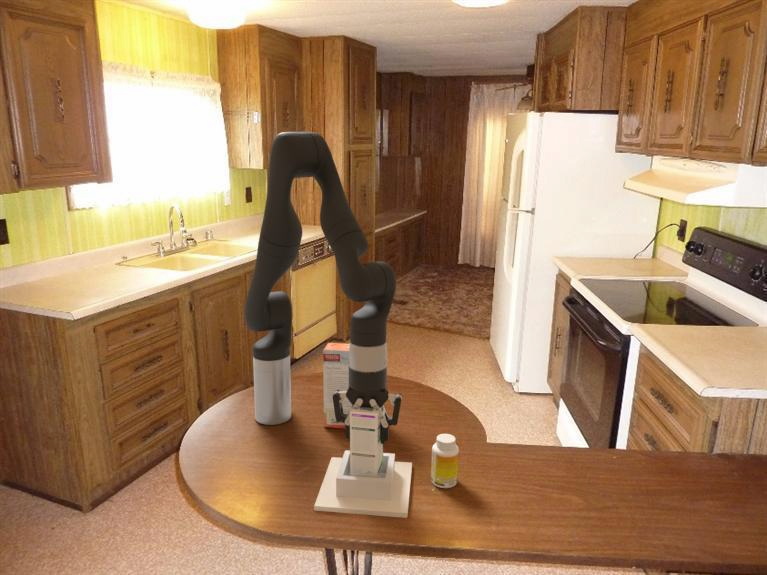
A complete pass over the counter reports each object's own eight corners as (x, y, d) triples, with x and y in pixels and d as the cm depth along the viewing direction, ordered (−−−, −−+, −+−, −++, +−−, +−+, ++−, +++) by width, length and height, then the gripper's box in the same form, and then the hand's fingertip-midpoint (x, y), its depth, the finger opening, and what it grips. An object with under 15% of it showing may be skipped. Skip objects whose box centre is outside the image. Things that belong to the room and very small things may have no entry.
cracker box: (381, 421, 145) (383, 344, 140) (378, 432, 140) (379, 352, 135) (328, 416, 147) (328, 340, 142) (323, 427, 141) (322, 349, 136)
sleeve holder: (331, 461, 126) (331, 440, 125) (412, 466, 124) (412, 446, 123) (314, 510, 109) (314, 487, 107) (407, 517, 107) (408, 494, 106)
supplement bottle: (462, 485, 118) (464, 441, 115) (439, 492, 115) (441, 447, 113) (448, 472, 123) (450, 429, 120) (425, 478, 120) (427, 434, 118)
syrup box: (377, 479, 112) (379, 413, 109) (348, 475, 113) (349, 409, 110) (383, 464, 118) (384, 400, 114) (355, 461, 119) (356, 397, 115)
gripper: (405, 358, 113) (403, 434, 117) (335, 354, 114) (335, 430, 118) (403, 372, 106) (400, 453, 110) (327, 368, 107) (328, 448, 111)
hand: (366, 440), depth 114 cm, fingers closed on syrup box, 6 cm apart
